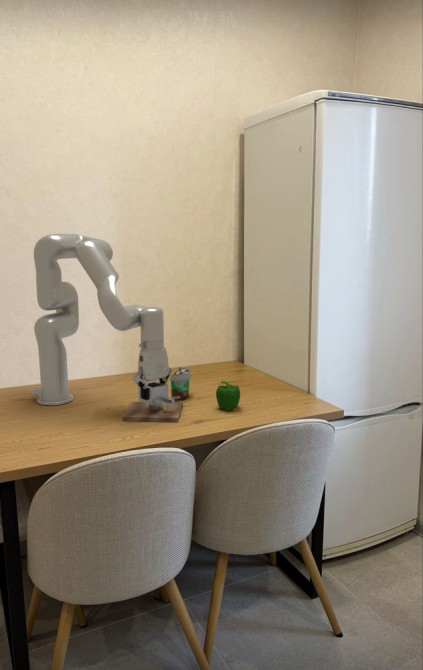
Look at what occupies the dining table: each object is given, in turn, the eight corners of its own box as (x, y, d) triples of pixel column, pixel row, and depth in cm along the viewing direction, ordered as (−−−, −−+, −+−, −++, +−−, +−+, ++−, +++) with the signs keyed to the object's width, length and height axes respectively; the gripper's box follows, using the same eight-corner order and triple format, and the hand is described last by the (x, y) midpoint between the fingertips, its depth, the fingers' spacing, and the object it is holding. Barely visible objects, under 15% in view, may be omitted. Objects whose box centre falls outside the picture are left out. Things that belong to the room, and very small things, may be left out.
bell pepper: (245, 407, 184) (245, 379, 182) (232, 414, 177) (232, 385, 176) (224, 403, 189) (224, 376, 187) (211, 409, 182) (211, 381, 180)
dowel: (162, 413, 173) (162, 406, 173) (163, 412, 175) (163, 405, 174) (166, 413, 173) (166, 406, 173) (167, 412, 175) (166, 405, 174)
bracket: (138, 400, 177) (138, 384, 176) (154, 396, 182) (154, 380, 181) (160, 408, 170) (160, 391, 168) (176, 403, 175) (176, 387, 174)
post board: (122, 421, 170) (121, 402, 169) (132, 405, 186) (131, 387, 185) (178, 422, 170) (177, 402, 168) (183, 406, 185) (182, 388, 184)
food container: (187, 403, 189) (186, 376, 187) (170, 401, 190) (170, 375, 188) (195, 393, 201) (194, 367, 199) (179, 392, 202) (179, 366, 200)
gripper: (139, 350, 165) (140, 405, 168) (179, 342, 177) (179, 393, 181) (124, 347, 170) (125, 400, 173) (164, 339, 182) (165, 389, 186)
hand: (153, 396), depth 177 cm, fingers closed on bracket, 7 cm apart
